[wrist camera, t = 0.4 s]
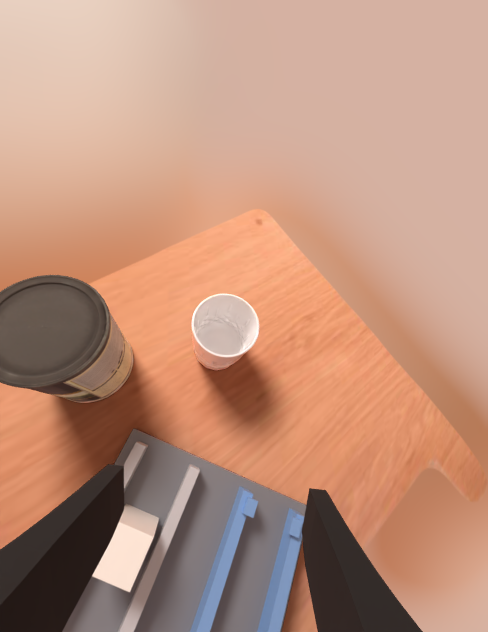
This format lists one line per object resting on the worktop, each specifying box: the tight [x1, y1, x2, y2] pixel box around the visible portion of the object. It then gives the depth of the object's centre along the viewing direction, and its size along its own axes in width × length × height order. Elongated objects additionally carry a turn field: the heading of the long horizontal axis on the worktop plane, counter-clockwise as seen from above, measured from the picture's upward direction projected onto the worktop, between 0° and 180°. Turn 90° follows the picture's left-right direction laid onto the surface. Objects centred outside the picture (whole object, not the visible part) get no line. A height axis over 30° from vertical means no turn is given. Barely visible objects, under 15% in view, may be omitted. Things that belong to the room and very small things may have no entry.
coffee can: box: [0, 275, 133, 403], centre depth 29 cm, size 10×10×14 cm
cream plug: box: [92, 504, 159, 592], centre depth 26 cm, size 4×4×6 cm
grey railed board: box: [62, 429, 306, 632], centre depth 28 cm, size 18×24×4 cm
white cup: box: [192, 294, 259, 370], centre depth 36 cm, size 8×8×10 cm
